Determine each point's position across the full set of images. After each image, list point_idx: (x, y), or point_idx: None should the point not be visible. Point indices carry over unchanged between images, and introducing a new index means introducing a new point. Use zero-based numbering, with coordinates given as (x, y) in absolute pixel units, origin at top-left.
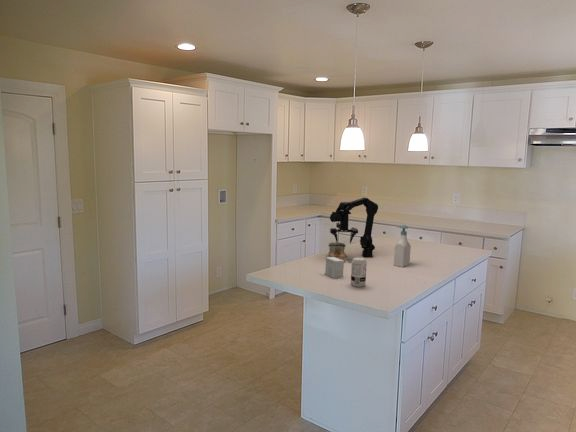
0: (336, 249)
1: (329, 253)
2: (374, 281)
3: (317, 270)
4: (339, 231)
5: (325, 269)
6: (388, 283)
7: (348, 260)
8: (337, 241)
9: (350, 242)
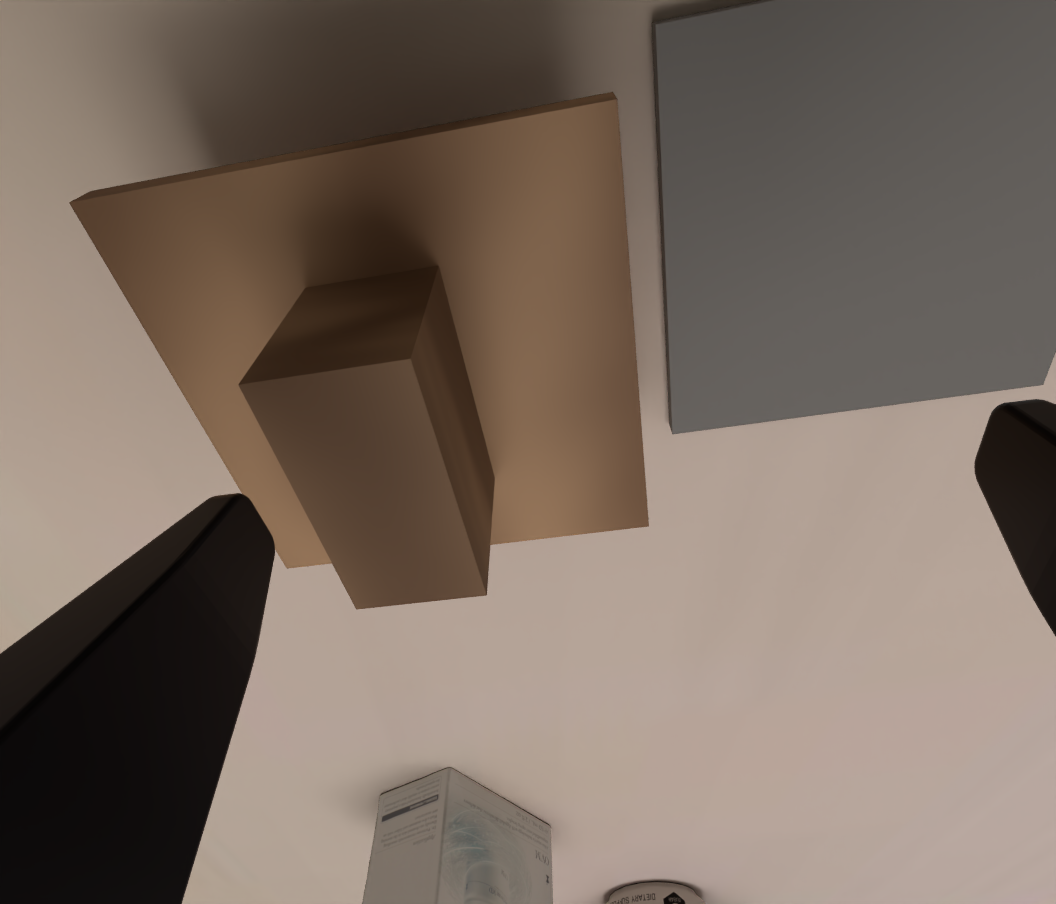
0: (363, 600)
1: (180, 387)
2: (802, 852)
3: (269, 734)
4: None
5: (372, 845)
6: (900, 864)
7: (698, 226)
8: (254, 653)
9: (1010, 515)
